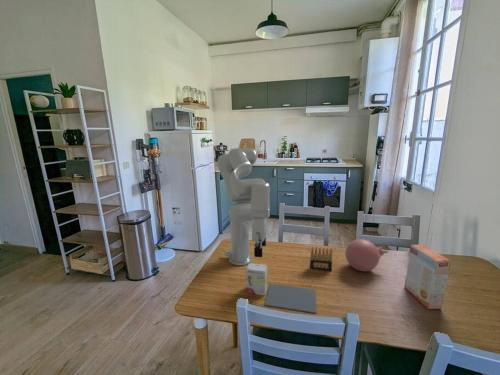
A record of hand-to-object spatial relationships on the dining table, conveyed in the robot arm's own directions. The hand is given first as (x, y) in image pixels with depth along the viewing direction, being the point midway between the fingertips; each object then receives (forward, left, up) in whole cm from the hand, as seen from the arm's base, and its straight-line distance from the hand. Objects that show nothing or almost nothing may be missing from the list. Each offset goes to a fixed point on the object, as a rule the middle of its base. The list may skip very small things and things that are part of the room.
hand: (260, 251), depth 101 cm
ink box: (-2, -1, -19) cm, 19 cm away
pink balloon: (+48, +28, -19) cm, 59 cm away
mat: (+13, -2, -19) cm, 23 cm away
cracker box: (+66, +10, -19) cm, 70 cm away
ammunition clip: (+26, +23, -19) cm, 40 cm away
